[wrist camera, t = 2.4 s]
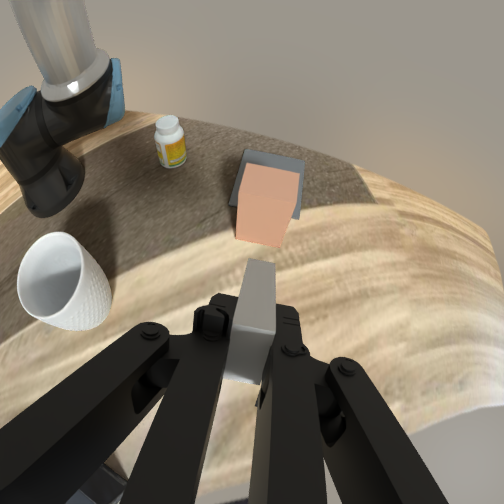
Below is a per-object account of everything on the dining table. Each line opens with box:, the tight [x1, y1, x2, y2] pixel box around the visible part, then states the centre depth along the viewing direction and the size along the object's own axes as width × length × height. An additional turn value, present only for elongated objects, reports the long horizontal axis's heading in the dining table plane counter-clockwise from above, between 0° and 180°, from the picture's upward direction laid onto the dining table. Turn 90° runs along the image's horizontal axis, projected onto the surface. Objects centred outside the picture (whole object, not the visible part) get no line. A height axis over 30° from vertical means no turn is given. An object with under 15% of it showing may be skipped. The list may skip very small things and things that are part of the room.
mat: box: [229, 149, 305, 220], centre depth 48 cm, size 14×12×1 cm
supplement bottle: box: [154, 115, 187, 168], centre depth 45 cm, size 5×5×10 cm
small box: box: [65, 463, 128, 504], centre depth 18 cm, size 11×6×10 cm, turn 148°
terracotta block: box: [236, 163, 300, 248], centre depth 38 cm, size 5×7×12 cm
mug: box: [17, 232, 112, 331], centre depth 30 cm, size 15×11×13 cm
